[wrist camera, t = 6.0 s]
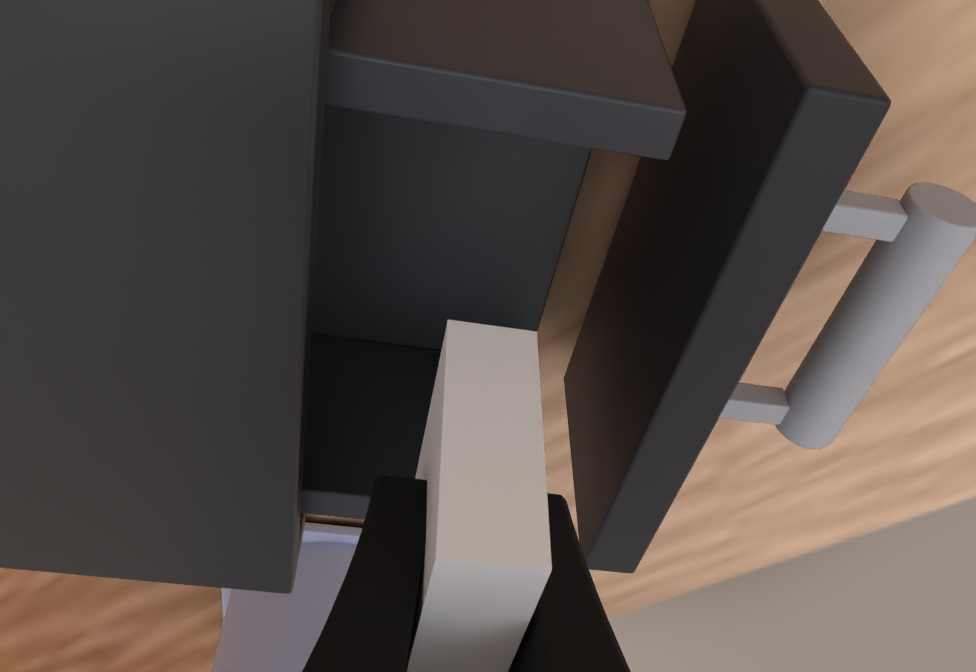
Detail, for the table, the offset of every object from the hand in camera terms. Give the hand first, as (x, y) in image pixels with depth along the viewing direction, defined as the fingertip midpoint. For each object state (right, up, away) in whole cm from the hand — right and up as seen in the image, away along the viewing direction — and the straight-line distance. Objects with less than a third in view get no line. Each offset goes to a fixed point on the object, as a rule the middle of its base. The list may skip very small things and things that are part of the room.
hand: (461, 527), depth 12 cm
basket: (0, +6, +7) cm, 9 cm away
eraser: (0, +1, +1) cm, 2 cm away
